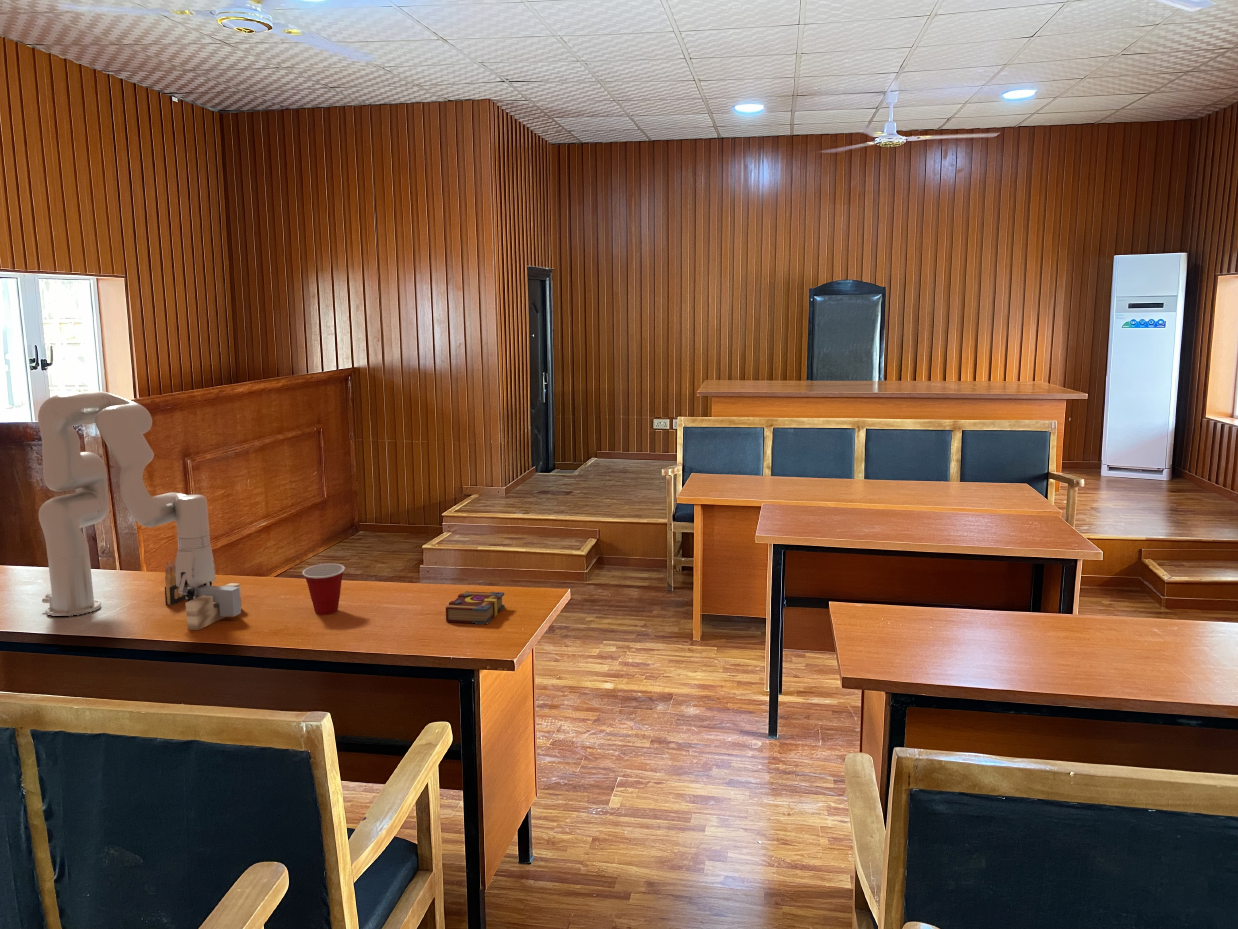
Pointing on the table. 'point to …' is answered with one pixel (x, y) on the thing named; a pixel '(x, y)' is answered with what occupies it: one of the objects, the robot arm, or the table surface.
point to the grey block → (223, 598)
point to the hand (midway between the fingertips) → (199, 610)
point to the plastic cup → (324, 586)
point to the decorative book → (474, 607)
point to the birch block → (204, 611)
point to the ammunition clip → (172, 585)
